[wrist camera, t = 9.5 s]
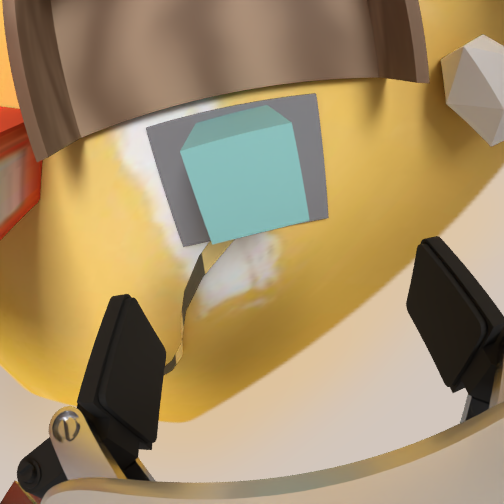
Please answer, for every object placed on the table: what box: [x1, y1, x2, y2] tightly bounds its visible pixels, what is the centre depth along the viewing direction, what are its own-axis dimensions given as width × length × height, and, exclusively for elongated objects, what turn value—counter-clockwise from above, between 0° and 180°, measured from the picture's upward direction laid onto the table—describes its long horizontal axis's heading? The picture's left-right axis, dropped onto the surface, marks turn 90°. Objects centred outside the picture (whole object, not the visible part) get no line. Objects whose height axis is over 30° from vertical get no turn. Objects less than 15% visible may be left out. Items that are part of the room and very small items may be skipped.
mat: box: [146, 93, 328, 247], centre depth 22 cm, size 12×10×1 cm
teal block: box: [180, 105, 310, 245], centre depth 17 cm, size 5×5×8 cm
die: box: [440, 34, 504, 146], centre depth 15 cm, size 8×9×10 cm
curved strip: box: [164, 239, 235, 375], centre depth 30 cm, size 6×39×4 cm, turn 140°
